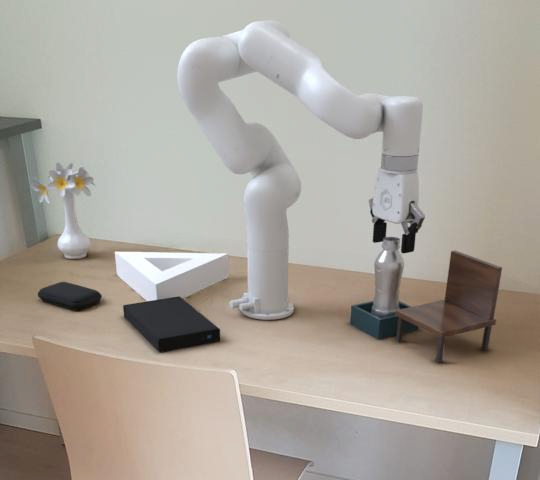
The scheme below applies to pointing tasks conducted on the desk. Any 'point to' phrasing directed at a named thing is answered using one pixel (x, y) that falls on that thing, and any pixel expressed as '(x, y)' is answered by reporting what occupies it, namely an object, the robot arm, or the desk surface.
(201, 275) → the triangle block
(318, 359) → the desk surface
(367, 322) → the rectangular frame
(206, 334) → the external hard drive
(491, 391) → the desk surface
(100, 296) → the carrying case
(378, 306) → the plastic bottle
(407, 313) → the chair
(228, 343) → the desk surface
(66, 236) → the flower vase
